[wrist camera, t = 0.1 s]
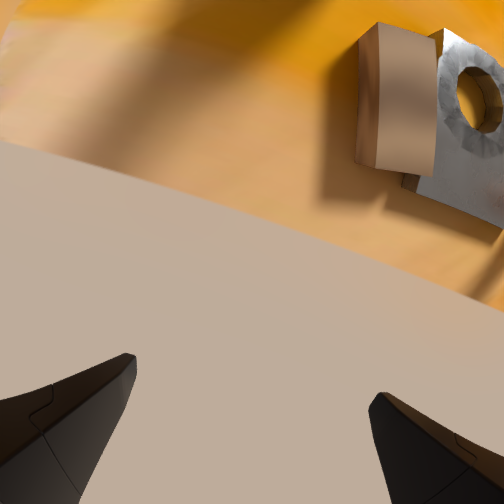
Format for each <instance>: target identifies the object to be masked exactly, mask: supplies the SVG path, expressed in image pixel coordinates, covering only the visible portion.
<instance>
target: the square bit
mask: <svg viewBox="0 0 504 504" xmlns="http://www.w3.org/2000/svg"><path fill="white" fill-rule="evenodd" d="M358 48H359V87H358V118H357V137H356V153H355V163H358V164H362V165H365V166H369V167H372V168H376V169H383V170H391V171H397V172H404V173H410V174H416V175H422V176H428V177H432V176H433V167H434V157H435V145H436V128H437V62H436V46H435V40H434V39H432V38H429V37H426V36H423V35H421V34H418V33H415V32H412V31H408V30H405V29H402V28H399V27H395V26H392V25H388V24H384V23H381V22H377V23H376V24H375V25H374V26H373V27H371V28H370V29H369V30H368V31H367V32H366V33H365V34H363V35H362V36H361V37H360V38H359V39H358Z"/></svg>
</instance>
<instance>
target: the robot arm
mask: <svg viewBox="0 0 504 504" xmlns="http://www.w3.org/2000/svg"><path fill="white" fill-rule="evenodd" d="M136 375H137V361H136V356H135V355H132V354H128V353H123V354H121V355H119V356H117V357H115V358H113V359H110V360H108V361H105V362H103V363H101V364H98V365H96V366H94V367H91V368H89V369H87V370H85V371H82V372H80V373H77V374H75V375H73V376H70V377H68V378H65V379H63V380H60V381H58V382H56V383H53V385H52V384H50V385H47V386H45V387H43V388H40V389H37V390H34V391H31V392H28V393H25V394H22V395H18V396H14V397H11V398H7V399H3V400H0V504H79V501H80V498H81V496H82V494H83V492H84V490H85V488H86V485H87V484H88V481H89V479H90V477H91V475H92V473H93V471H94V469H95V467H96V465H97V463H98V461H99V459H100V457H101V455H102V453H103V451H104V449H105V447H106V445H107V443H108V441H109V439H110V437H111V435H112V433H113V431H114V429H115V427H116V425H117V423H118V421H119V419H120V417H121V416H122V413H123V411H124V409H125V406H126V404H127V401H128V398H129V396H130V393H131V390H132V387H133V385H134V382H135V379H136ZM368 412H369V418H370V423H371V429H372V434H373V439H374V443H375V446H376V450H377V453H378V456H379V460H380V463H381V467H382V470H383V473H384V477H385V480H386V484H387V488H388V491H389V495H390V499H391V502H392V504H504V457H503V456H501V455H499V454H496V453H494V452H492V451H490V450H487V449H485V448H483V447H481V446H479V445H477V444H475V443H473V442H471V441H469V440H467V439H465V438H464V437H462V436H460V435H458V434H456V433H453V432H452V431H451V430H449V429H447V428H446V427H444V426H442V425H440V424H439V423H437V422H435V421H434V420H432V419H430V418H429V417H427V416H425V415H424V414H422V413H420V412H419V411H417V410H416V409H414V408H412V407H411V406H409V405H407V404H406V403H404V402H402V401H401V400H399V399H397V398H396V397H395V396H393V395H391V394H390V393H388V392H380V393H378V394H377V395H376V397H375V399H374V400H373V401H372V403H371V404H370V406H369V410H368Z"/></svg>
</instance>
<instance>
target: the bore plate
mask: <svg viewBox="0 0 504 504" xmlns="http://www.w3.org/2000/svg"><path fill="white" fill-rule="evenodd" d="M429 38H432V39H434V40H435V46H436V62H437V128H436V145H435V157H434V167H433V176H432V177H428V176H422V175H416V174H410V173H405V175H404V179H403V183H402V186H401V187H402V188H405V189H407V190H410V191H412V192H414V193H417V194H420V195H423V196H425V197H428V198H431V199H433V200H436V201H439V202H441V203H444V204H446V205H449V206H451V207H454V208H456V209H459V210H461V211H464V212H466V213H468V214H471V215H473V216H475V217H478V218H480V219H482V220H485V221H487V222H489V223H491V224H493V225H496V226H498V227H500V228H502V229H504V68H502V67H501V66H500V65H499V64H498V63H497V61H496V60H495V59H494V58H493V57H492V56H490V55H489V54H488V53H486V52H485V51H484V50H482V49H481V48H479V47H478V46H477V45H475V44H469V43H468V42H466V41H465V40H463V39H462V38H460V37H459V36H457V35H455V34H454V33H452V32H450V31H449V30H447V29H445V28H443V29H441V30H439V31H437V32H435V33H433V34H431V35H429ZM462 71H464V72H465V73H467V74H469V75H470V76H472V77H473V78H474V79H475V81H476V82H477V84H478V85H479V87H480V88H481V90H482V92H483V96H484V100H485V104H486V112H485V119H484V122H483V124H482V125H481V126H480V127H479V129H478V130H476V129H474V128H472V127H471V126H470V124H469V123H468V121H467V120H466V118H465V117H464V115H463V114H462V112H461V109H460V105H459V101H458V98H457V94H456V90H457V81H458V75H459V74H460V73H461V72H462Z"/></svg>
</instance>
